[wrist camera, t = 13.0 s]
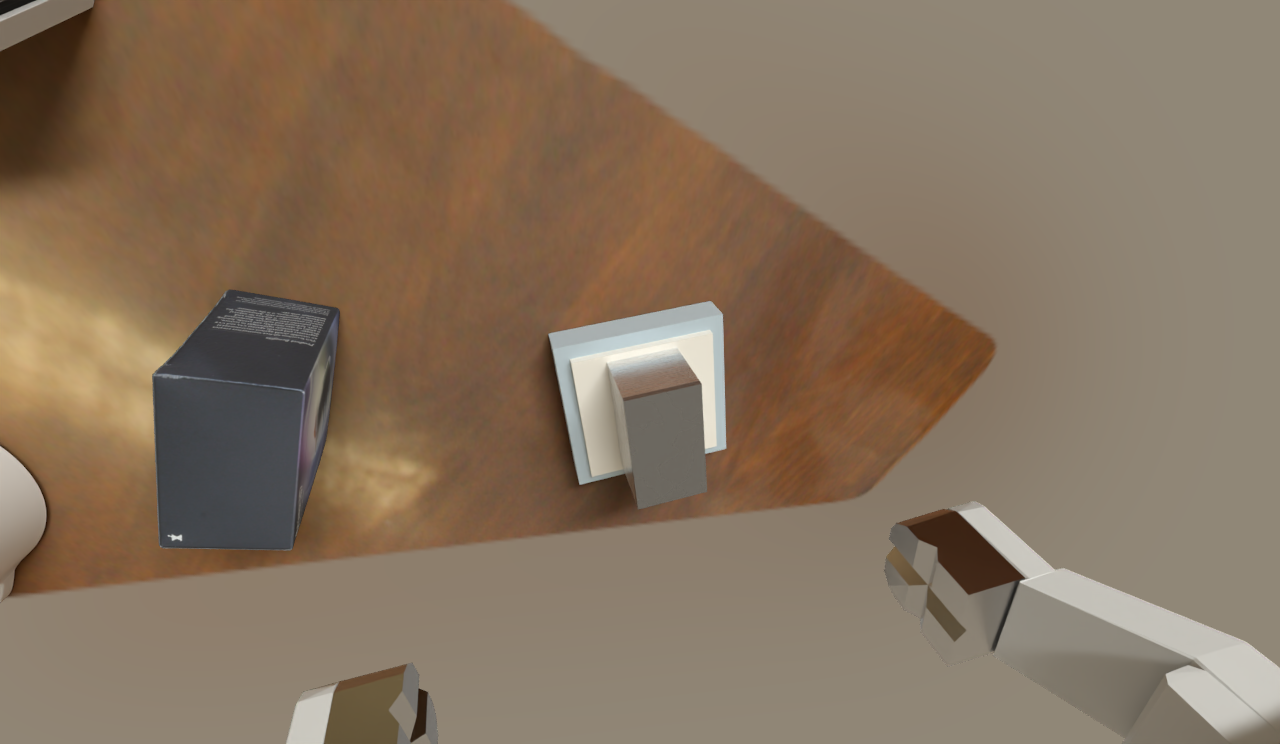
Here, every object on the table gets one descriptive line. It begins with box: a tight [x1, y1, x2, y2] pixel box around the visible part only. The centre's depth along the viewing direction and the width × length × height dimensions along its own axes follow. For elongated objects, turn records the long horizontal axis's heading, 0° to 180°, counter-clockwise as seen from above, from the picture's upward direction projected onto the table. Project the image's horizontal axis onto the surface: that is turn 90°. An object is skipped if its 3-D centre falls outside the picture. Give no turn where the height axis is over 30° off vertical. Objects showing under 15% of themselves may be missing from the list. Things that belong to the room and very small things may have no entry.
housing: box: [607, 348, 707, 509], centre depth 40 cm, size 9×5×5 cm, turn 6°
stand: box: [548, 301, 726, 485], centre depth 44 cm, size 12×12×3 cm
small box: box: [152, 290, 340, 550], centre depth 33 cm, size 11×6×10 cm, turn 162°
